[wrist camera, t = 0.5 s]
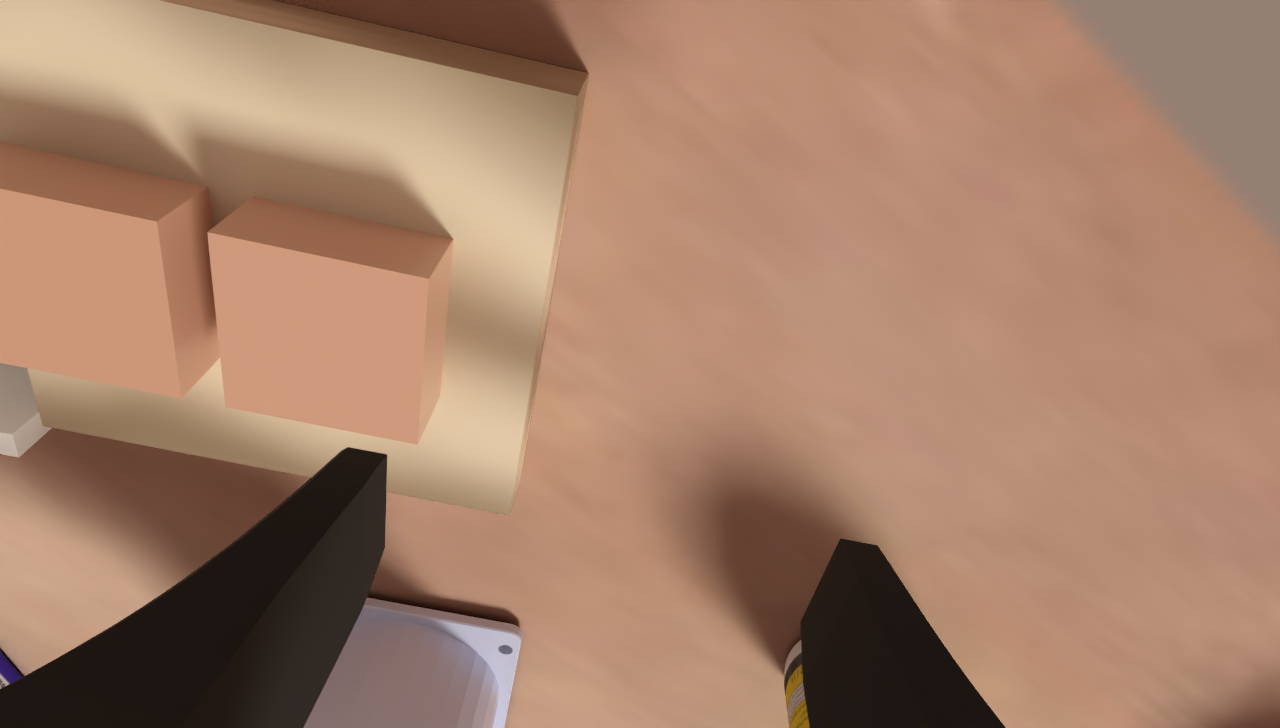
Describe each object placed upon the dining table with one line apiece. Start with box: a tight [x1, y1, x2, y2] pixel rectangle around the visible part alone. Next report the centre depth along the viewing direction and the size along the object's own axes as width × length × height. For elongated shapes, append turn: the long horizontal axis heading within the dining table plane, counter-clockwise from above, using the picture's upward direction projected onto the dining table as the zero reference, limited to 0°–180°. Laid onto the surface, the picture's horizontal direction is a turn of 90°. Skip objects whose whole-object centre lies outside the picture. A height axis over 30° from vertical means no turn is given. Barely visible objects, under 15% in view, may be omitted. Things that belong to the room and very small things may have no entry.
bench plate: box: [0, 0, 589, 516], centre depth 20 cm, size 12×13×2 cm
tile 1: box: [207, 196, 454, 445], centre depth 18 cm, size 4×4×2 cm
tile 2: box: [0, 142, 220, 398], centre depth 18 cm, size 4×4×2 cm
